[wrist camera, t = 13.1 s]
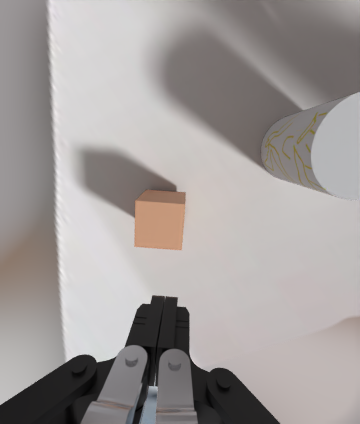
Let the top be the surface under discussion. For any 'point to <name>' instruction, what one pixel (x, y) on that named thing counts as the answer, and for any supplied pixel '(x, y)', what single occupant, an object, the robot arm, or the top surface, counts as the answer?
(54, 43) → the top surface
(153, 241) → the tan cardboard box
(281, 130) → the white round cylinder
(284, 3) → the top surface
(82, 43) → the top surface
